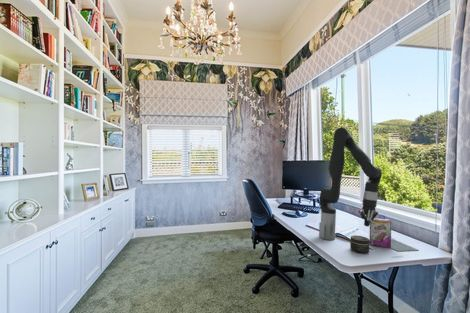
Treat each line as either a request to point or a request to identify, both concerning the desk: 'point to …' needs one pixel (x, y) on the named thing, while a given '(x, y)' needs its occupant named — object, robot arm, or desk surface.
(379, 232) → the candy bar box
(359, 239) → the jar
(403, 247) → the mat
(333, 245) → the desk surface
